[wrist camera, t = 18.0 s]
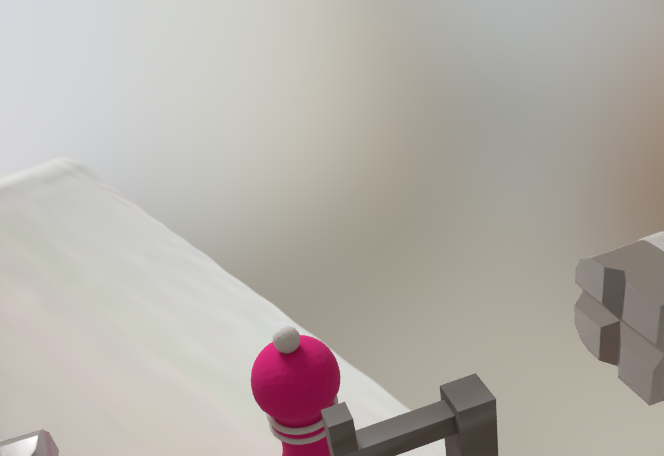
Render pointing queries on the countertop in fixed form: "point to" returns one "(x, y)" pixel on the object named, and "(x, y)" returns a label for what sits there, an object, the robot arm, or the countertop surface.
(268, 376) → the pepper mill
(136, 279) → the countertop surface
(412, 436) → the hanger stand
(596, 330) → the robot arm
